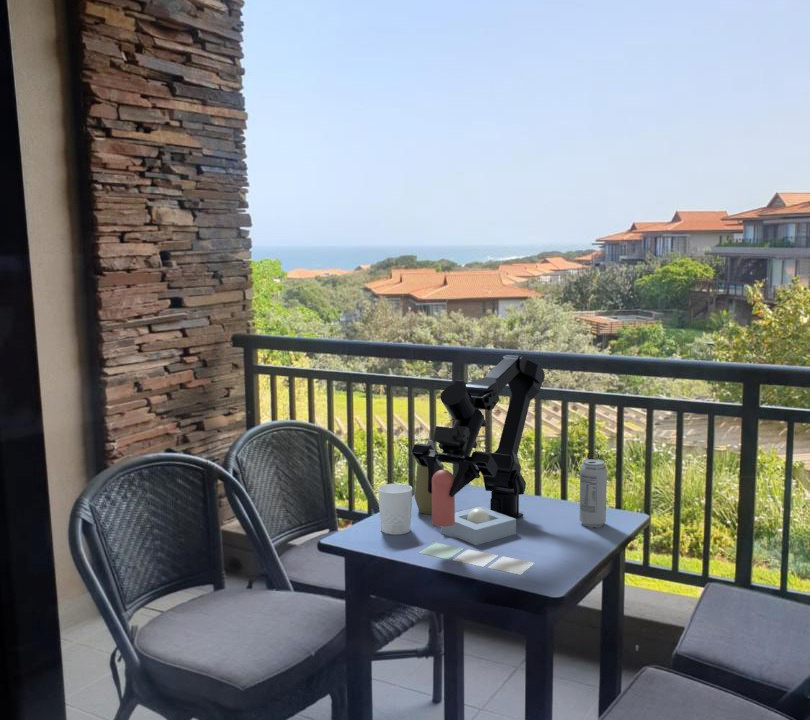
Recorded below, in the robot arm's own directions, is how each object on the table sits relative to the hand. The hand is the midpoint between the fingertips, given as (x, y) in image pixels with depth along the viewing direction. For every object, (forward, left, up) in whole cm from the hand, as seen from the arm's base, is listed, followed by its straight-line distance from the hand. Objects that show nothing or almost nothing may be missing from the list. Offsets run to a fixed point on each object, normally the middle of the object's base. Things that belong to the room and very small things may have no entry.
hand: (439, 494), depth 166 cm
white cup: (-2, -19, -14) cm, 24 cm away
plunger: (-15, -5, -13) cm, 20 cm away
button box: (-15, -5, -13) cm, 21 cm away
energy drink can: (-41, +6, -14) cm, 44 cm away
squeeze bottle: (-17, -25, -14) cm, 33 cm away
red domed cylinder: (-1, -1, -7) cm, 7 cm away
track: (-4, +6, -13) cm, 15 cm away
